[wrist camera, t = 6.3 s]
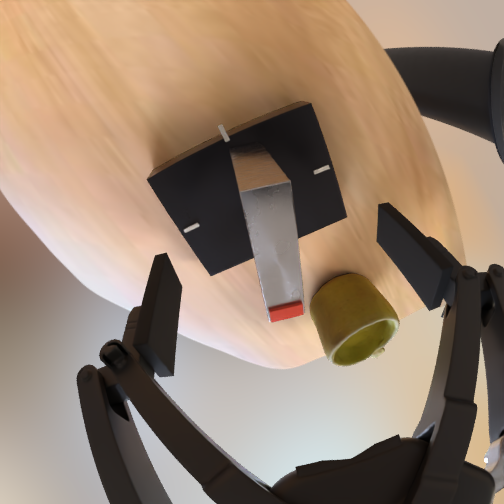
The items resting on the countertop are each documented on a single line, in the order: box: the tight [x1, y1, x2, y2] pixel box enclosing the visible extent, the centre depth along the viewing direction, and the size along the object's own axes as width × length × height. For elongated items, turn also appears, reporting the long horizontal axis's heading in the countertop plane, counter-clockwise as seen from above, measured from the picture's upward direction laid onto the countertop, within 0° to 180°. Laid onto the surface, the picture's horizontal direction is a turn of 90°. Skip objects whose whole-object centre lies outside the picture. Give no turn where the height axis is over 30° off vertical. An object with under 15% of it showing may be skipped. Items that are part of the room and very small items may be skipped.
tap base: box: [147, 101, 347, 276], centre depth 23 cm, size 14×13×3 cm
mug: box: [310, 273, 400, 366], centre depth 31 cm, size 12×10×10 cm
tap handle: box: [229, 142, 305, 322], centre depth 18 cm, size 9×2×9 cm, turn 10°
